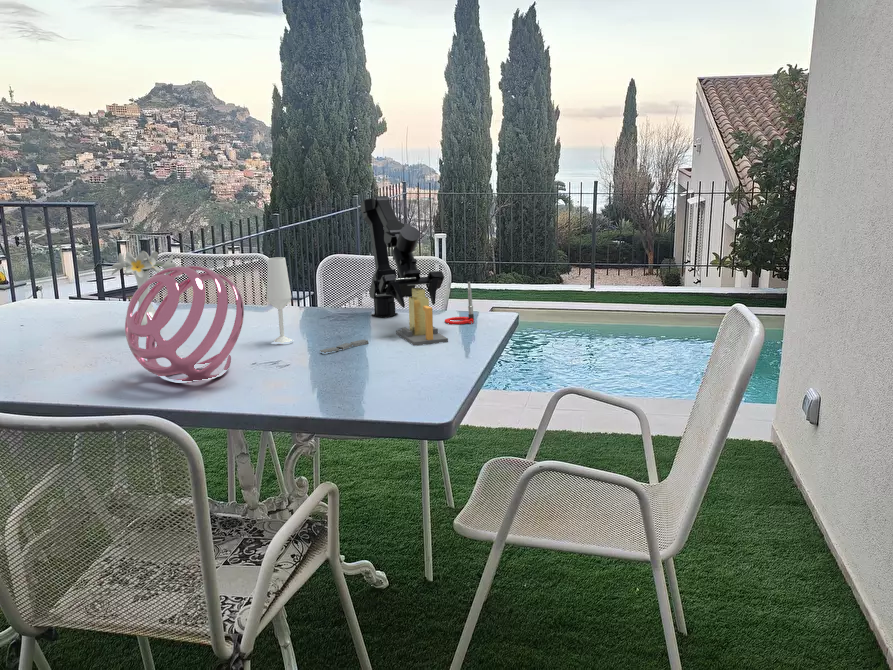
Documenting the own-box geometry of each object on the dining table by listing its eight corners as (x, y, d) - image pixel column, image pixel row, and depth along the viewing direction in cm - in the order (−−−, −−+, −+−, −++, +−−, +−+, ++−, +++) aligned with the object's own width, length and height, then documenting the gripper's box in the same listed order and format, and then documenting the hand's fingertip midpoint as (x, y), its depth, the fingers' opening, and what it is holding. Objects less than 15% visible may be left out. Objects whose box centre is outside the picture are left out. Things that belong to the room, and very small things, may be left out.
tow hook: (444, 326, 223) (473, 324, 223) (441, 285, 221) (471, 283, 220) (445, 321, 232) (474, 319, 231) (442, 281, 229) (471, 279, 228)
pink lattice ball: (226, 281, 190) (147, 230, 167) (294, 317, 175) (217, 267, 152) (168, 372, 186) (79, 332, 164) (231, 418, 171) (143, 381, 148)
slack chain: (318, 353, 191) (318, 350, 191) (359, 341, 204) (359, 338, 204) (328, 355, 189) (328, 352, 189) (369, 343, 202) (369, 340, 201)
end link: (409, 332, 209) (408, 288, 206) (424, 331, 211) (423, 287, 208) (414, 335, 205) (413, 290, 202) (429, 334, 207) (428, 289, 204)
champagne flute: (265, 343, 203) (258, 259, 198) (281, 338, 209) (275, 256, 204) (284, 346, 200) (277, 260, 195) (299, 340, 206) (293, 257, 201)
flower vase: (188, 329, 224) (180, 248, 219) (132, 340, 210) (121, 255, 205) (165, 324, 232) (157, 246, 227) (110, 334, 218) (99, 252, 213)
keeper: (396, 333, 212) (395, 300, 210) (427, 330, 216) (427, 297, 214) (414, 345, 198) (413, 310, 196) (448, 341, 202) (447, 306, 199)
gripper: (428, 276, 223) (442, 318, 216) (370, 281, 216) (382, 324, 209) (437, 254, 214) (452, 296, 207) (377, 258, 207) (390, 302, 200)
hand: (419, 305), depth 206 cm, fingers open, 9 cm apart
